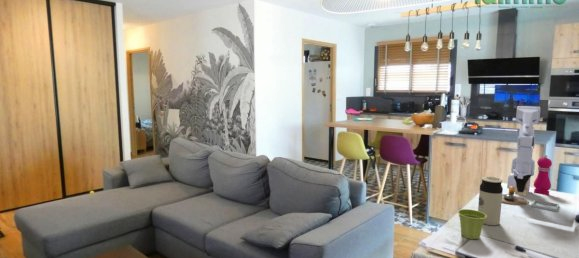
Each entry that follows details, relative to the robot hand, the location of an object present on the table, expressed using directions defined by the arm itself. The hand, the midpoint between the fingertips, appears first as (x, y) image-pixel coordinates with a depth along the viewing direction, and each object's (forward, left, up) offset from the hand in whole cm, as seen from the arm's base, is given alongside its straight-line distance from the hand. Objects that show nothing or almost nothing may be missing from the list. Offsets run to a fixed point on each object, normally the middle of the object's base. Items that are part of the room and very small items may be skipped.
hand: (521, 190), depth 166 cm
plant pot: (+22, -48, -7) cm, 53 cm away
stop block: (0, 0, -2) cm, 2 cm away
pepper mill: (-10, +25, -7) cm, 28 cm away
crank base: (-4, -3, -7) cm, 8 cm away
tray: (+8, +5, -7) cm, 12 cm away
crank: (-5, 0, -5) cm, 7 cm away
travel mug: (+13, -31, -7) cm, 34 cm away
